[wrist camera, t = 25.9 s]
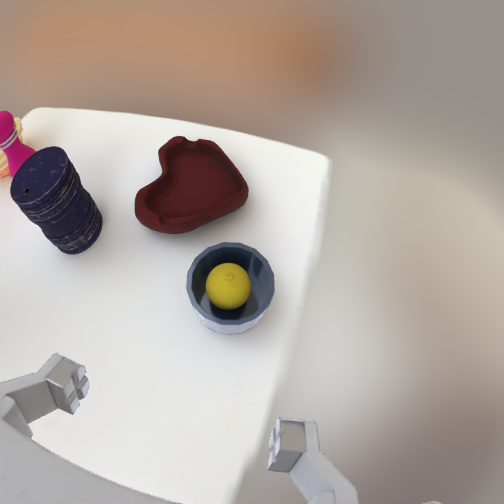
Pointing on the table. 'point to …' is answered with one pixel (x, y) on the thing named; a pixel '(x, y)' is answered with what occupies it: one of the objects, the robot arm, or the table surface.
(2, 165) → the potted cactus
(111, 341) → the table surface
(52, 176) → the dark blue barrel
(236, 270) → the lemon
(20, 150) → the pepper mill
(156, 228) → the ashtray
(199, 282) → the cup
